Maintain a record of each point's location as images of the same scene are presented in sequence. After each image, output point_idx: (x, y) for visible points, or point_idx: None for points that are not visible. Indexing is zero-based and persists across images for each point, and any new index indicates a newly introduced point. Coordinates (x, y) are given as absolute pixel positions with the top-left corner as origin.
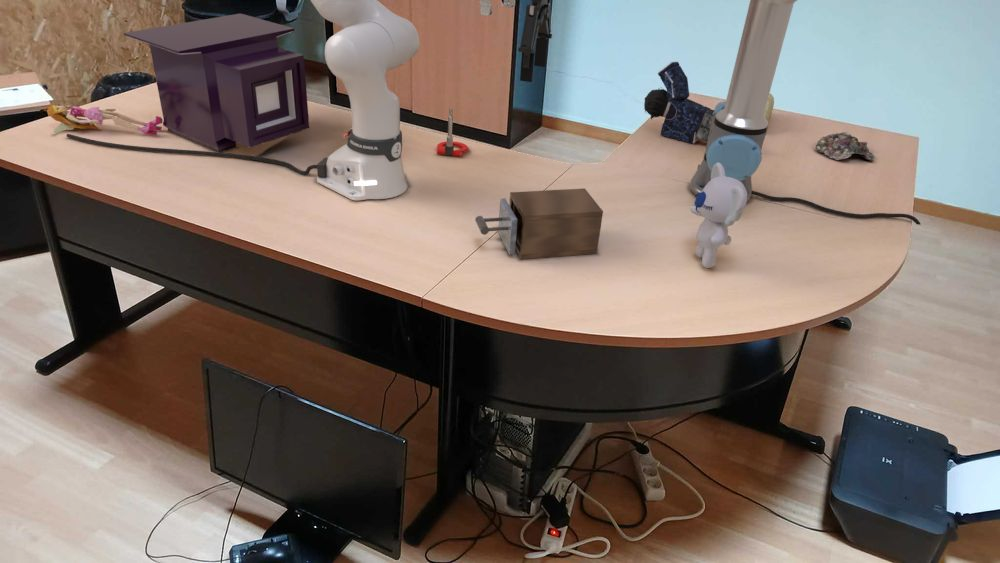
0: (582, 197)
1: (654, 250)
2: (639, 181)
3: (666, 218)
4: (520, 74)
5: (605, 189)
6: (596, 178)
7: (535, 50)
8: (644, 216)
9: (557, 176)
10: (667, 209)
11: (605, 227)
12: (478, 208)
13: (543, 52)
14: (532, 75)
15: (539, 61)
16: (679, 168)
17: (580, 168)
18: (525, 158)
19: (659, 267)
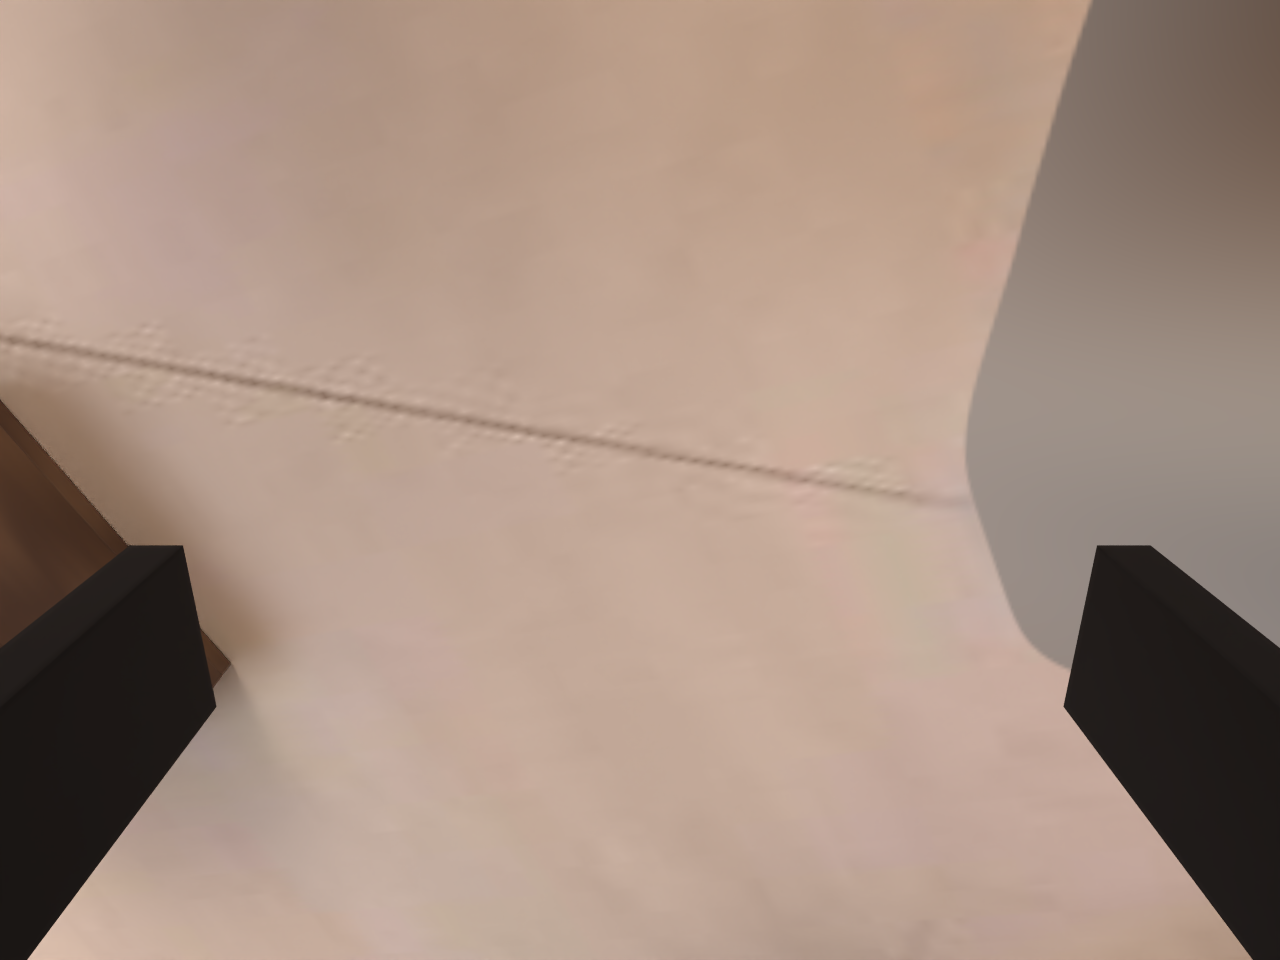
0: None
1: (226, 916)
2: (854, 812)
3: (517, 929)
4: (66, 596)
5: (701, 696)
6: (818, 641)
7: (1274, 698)
8: (494, 862)
9: (770, 461)
10: (603, 926)
11: (312, 749)
12: (161, 158)
13: (1214, 837)
14: (161, 766)
15: (1121, 666)
16: (1067, 937)
17: (924, 550)
18: (979, 223)
19: (113, 938)
